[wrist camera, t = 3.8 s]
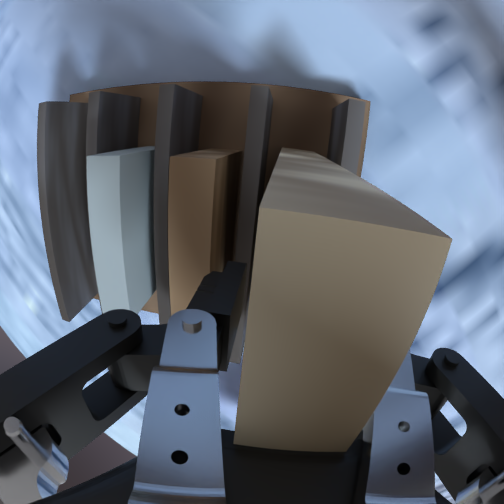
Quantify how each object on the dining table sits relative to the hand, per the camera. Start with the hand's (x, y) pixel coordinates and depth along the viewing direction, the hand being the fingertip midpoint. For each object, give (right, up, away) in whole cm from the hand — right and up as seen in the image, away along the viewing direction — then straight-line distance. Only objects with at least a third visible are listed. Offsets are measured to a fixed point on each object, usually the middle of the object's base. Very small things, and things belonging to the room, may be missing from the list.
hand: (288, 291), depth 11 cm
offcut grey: (-8, +5, +9) cm, 13 cm away
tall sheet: (+1, +3, +8) cm, 9 cm away
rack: (-6, +5, +10) cm, 12 cm away
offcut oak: (-3, +4, +8) cm, 10 cm away
